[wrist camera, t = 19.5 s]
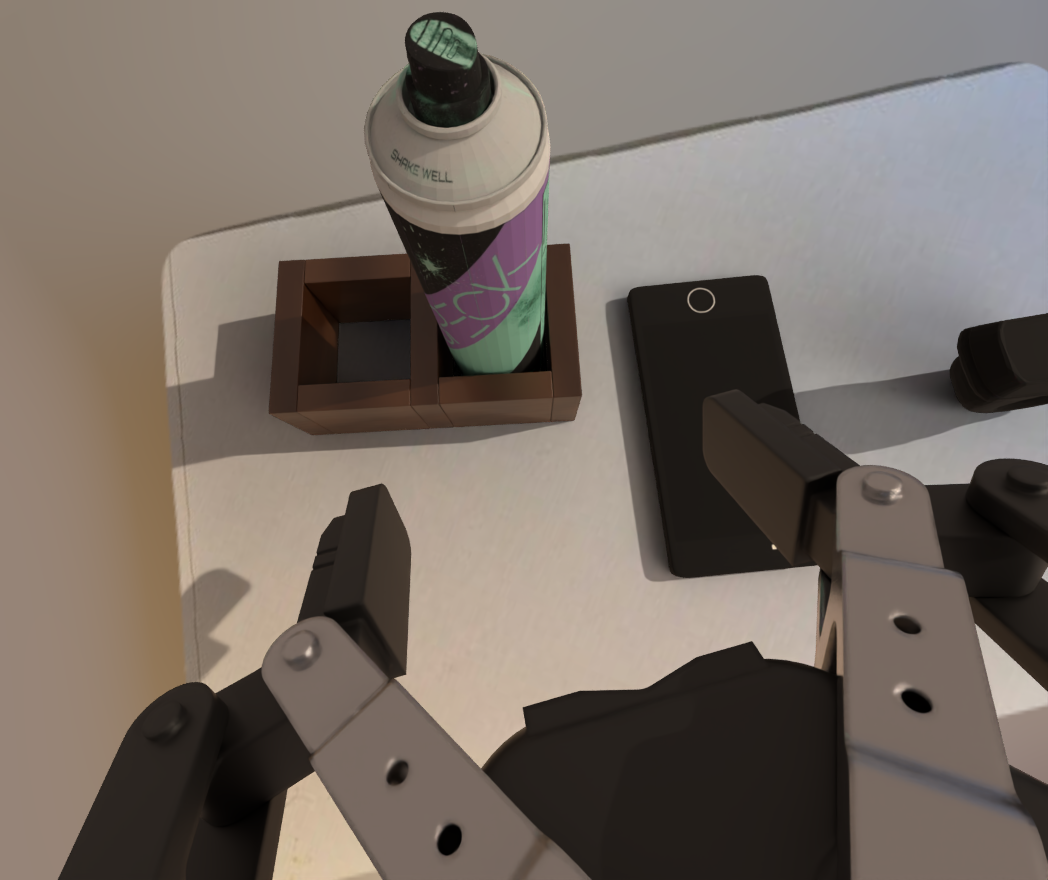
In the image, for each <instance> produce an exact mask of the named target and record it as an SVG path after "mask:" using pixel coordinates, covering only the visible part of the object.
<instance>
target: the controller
mask: <svg viewBox="0 0 1048 880" xmlns="http://www.w3.org/2000/svg"><path fill="white" fill-rule="evenodd" d="M957 349H958V354H959V356H958V357H957V358H956V359H955V360H954V361H953V363H952V365H951V368H950V378H951V381H952V384H953V387H954V390H955V393H956V395H957V398H958V400H959V402H960V403H961V404H962V406H963V407H965V408H966V409H967V410H969V411H972V412H978V413H993V412H1003V411H1010V410H1016V409H1022V408H1028V407H1034V406H1039V405H1045V404H1048V313H1046V314H1040V315H1035V316H1029V317H1023V318H1017V319H1011V320H1005V321H999V322H994V323H989V324H984V325H979V326H975V327H970V328H966V329H964V330H963V331H961V333H960V335H959V338H958V343H957Z"/></svg>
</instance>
